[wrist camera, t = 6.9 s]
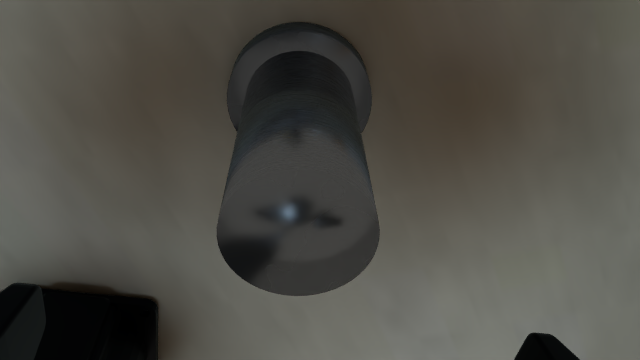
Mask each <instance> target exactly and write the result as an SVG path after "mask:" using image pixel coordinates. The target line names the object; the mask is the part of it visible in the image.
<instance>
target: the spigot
mask: <svg viewBox="0 0 640 360" xmlns="http://www.w3.org/2000/svg"><path fill="white" fill-rule="evenodd" d="M227 104H228V111H229V115H230V118H231V121H232V123H233V125H234V127H235V129H236V130H237V136H236V140H235V145H234V150H233V154H232V159H231V163H230V168H229V173H228V177H227V182H226V186H225V191H224V196H223V200H222V205H221V209H220V214H219V219H218V224H217V241H218V246H219V249H220V251H221V254H222V256H223V258H224V259H225V261H226V262H227V264H228V265H229V267H230V268H231V269H232V270H233V271H234V272H235V273H236V274H237V275H238V276H240V277H241V278H242V279H244V280H245V281H247V282H248V283H250V284H252V285H254V286H256V287H258V288H260V289H263V290H266V291H268V292H272V293H276V294H282V295H291V296H306V295H314V294H320V293H324V292H328V291H330V290H333V289H336V288H338V287H340V286H343V285H345V284H346V283H348V282H350V281H351V280H353V279H354V278H355V277H356V276H358V275H359V274H360V273H361V272H362V271H363V270H364V269H365V268H366V267H367V265H368V264H369V263H370V262H371V260H372V258H373V256H374V255H375V252H376V249H377V247H378V242H379V233H380V229H379V222H378V217H377V212H376V206H375V201H374V196H373V191H372V186H371V181H370V176H369V171H368V166H367V161H366V156H365V151H364V146H363V141H362V136H361V133H362V131H363V129H364V128H365V125H366V123H367V121H368V118H369V115H370V111H371V104H372V94H371V87H370V83H369V79H368V75H367V72H366V68H365V65H364V63H363V61H362V59H361V57H360V55H359V54H358V52H357V51H356V49H355V48H354V47H353V46H352V44H350V43H349V42H348V41H347V40H346V39H345V38H344V37H342V36H341V35H340V34H338V33H337V32H335V31H333V30H331V29H329V28H326V27H324V26H321V25H317V24H313V23H305V22H291V23H285V24H280V25H277V26H274V27H271V28H269V29H267V30H265V31H263V32H262V33H260V34H258V35H257V36H256V37H254V38H253V39H252V40H251V41H250V42H249V43H248V44H247V45H246V46H245V47H244V48H243V50H242V51H241V53H240V54H239V56H238V58H237V60H236V62H235V64H234V67H233V71H232V74H231V77H230V81H229V84H228V91H227Z"/></svg>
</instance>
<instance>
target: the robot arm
mask: <svg viewBox="0 0 640 360" xmlns="http://www.w3.org/2000/svg"><path fill="white" fill-rule="evenodd" d="M145 310H148V311H145ZM0 360H158V306H157V304H156V303H155V302H154V301H152V300H149V299H142V298H132V297H122V296H111V295H101V294H90V293H80V292H70V291H59V290H49V289H41V288H40V287H39V286H38V285H34V284H24V283H14V284H12V285H10V286H8V287H7V288H5V289H4V290H3V291H1V292H0ZM514 360H580V359H579V358H578V357H576V356H575V355H574V354H573V353H572V352H571V351H570V350H569V349H568V348H567V347H566V346H564V345H563V344H562V343H561V342H560V341H559V340H558V339H557V338H556V337H554V336H553V335H550V334H544V333H531V334H529V335H528V336H527V338H526V339H525V341H524V343H523V345H522V346H521V348H520V350H519V352H518V354H517V355H516V357H515V359H514Z"/></svg>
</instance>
